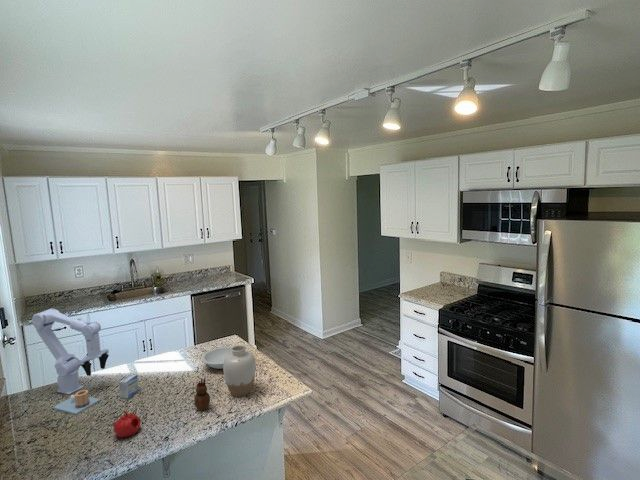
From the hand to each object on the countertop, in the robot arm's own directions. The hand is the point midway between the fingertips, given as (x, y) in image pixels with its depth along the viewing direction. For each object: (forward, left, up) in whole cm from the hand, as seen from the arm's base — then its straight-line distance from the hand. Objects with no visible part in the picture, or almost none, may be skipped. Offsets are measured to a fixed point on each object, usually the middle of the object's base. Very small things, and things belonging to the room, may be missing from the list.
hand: (95, 371), depth 181 cm
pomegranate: (+45, -21, -10) cm, 51 cm away
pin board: (+3, -13, -10) cm, 17 cm away
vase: (+73, +21, -10) cm, 77 cm away
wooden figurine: (+64, +3, -10) cm, 65 cm away
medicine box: (+20, +2, -10) cm, 23 cm away
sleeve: (+7, -13, -9) cm, 18 cm away
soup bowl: (+47, +43, -10) cm, 65 cm away
